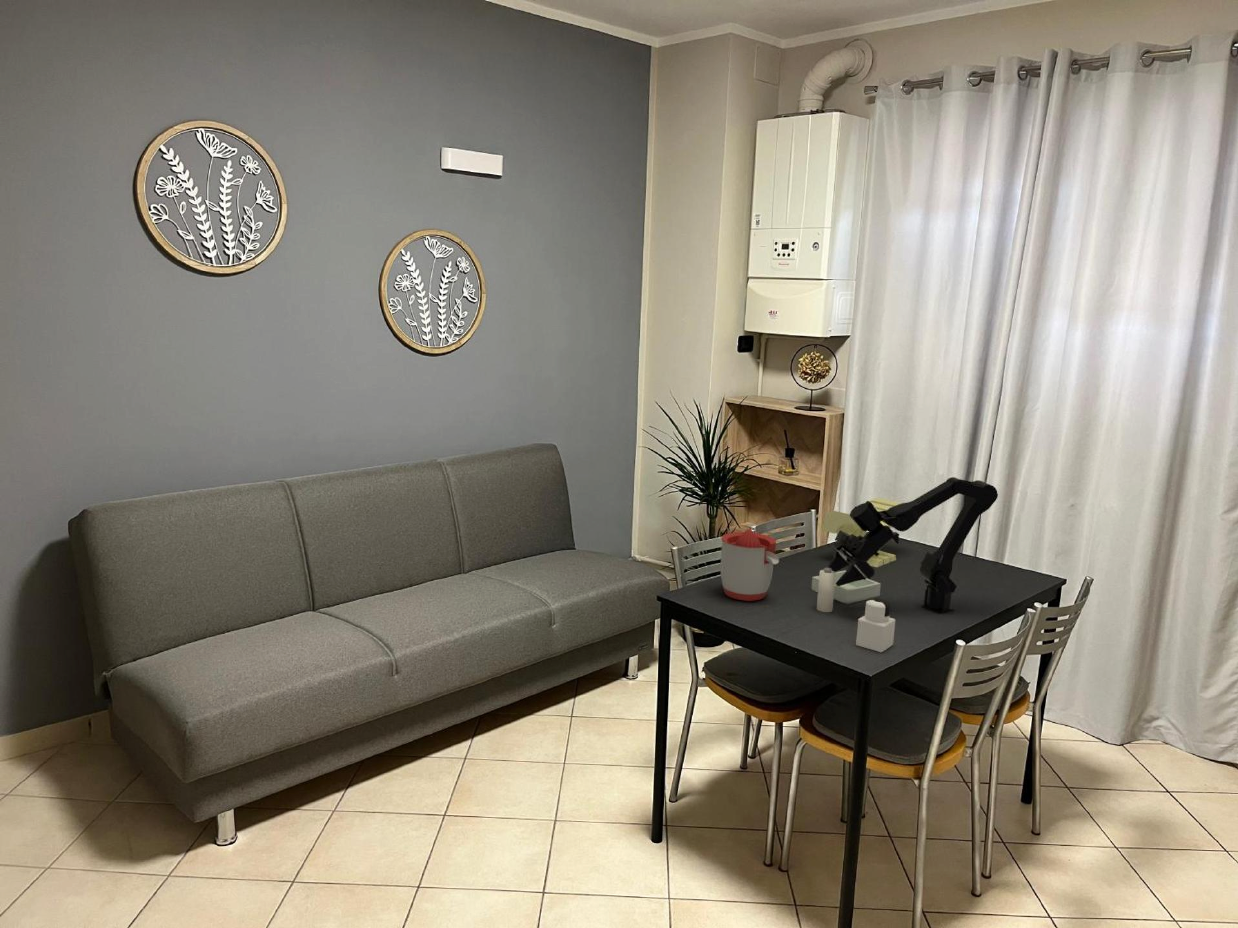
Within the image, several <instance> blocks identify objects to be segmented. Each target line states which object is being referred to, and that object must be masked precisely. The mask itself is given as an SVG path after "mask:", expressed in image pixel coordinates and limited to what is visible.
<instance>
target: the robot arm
mask: <svg viewBox="0 0 1238 928" xmlns="http://www.w3.org/2000/svg"><path fill="white" fill-rule="evenodd" d="M957 495H963V504H962V505H963V506H962V509H961V510H960V512H959V513H958V516H956V518H955V520H954V522H953V524H952V525H951V527H950V528H949V530H948V532H947V533H946V536H945V537H944V539H943V541H942V542H941V544H940V545H939V546H938V547H939V548H938V549H937V550H936V551H935V552H933V553H932V554H931V553H930V552H926V554H925V556H924V558H923V560H922V561H921V562H920V563H919V565H920V567H919V573H920V576H921V577H922V578H923V580H924V583H925V584H926V589H924V601H923V603H922V604H921V606H920V607H922V608H925V609H927V610H929V611H932V612H934V613H938V614H941V613H942V614H943V613H946V612H950V611H953V610H954V607H952V606H951V604H952V602H951V601H952V593H955V591H956V590H957V584H956V583H955V582H954V581H953V580H952V579H951V578H950V577H951V575H952V571H953V568H954V566H953V565H954V559H955V557H956V555H957V553H958V552H959V550H960V549H961V547H962V546H963V544H964V542H965V541H966V539H967V537H968V535H969V533H970V532H971V530H972V528H973V526H974V525H975V524H976V521H977V520H978V518H980V516H981V515H982V514H984V513H985V512H987V511H988V510H990V509H991V507H992V506H993V505H994V503H995V502H996V501H997V499H998V497H999V494H998V490H997V488H996V487H995V486H994V485H992V484H990V483H987V482H985V481H983V480H974V481H970V480H966V479H960V478H957V477H954V476H953V477H949V478H947V479H946V480H945V481H943V482H942V483H940V484H938V485H937V486H935V487H934V488H932V489H930V490H928V491H927V492H924V493H923V494H921V495H920V496H918V497H917V498H915V499H913V500H911V501H907V502H903V503H901V504H899V505H896V506H893V507H891V508H889V509H888V510H885V511H877V510H876V509H875V507H874V505H873V504H872V503H871V502H870V501H871V500H867V501H865V502H863V503H860V504H858V505H856V506H854V508H852V510H851V511H850V512H849V514H850V517H851V518H852V519H853V520H854V522H855V523H856V524H857V525H858V526H859V527H860V528H861V529H862V531H867V532H866V535H865V536H863V537H862V536H861V535H860V536H858V537H857V536H854V535H853V534H851V535H849V534H847V533H845V532H843V531H841V530H840V531H839V533H838V535H837V534H836V537H835V538H834V541H835V543H834V544H833V545H832V547H833V548H832V551H833V557H832V559H831V561H830V563H829V564H828V566H827V568H831V569H832V571H834V572H839V571H840V570H842V569H845V568H847V567H848V568H847V570H845V571H846V572H845V573H844V574H843V575H842V576H841V577H840V578H839V580H838V581H837V582H836V585H837V586H841V585H845V584H848V583H851V582H855V581H859V580H863V579H864V580H866V578H867V579H870V580H872V578H873V577H874V576H875V572H876V571H875V569H874V567H873V566H870V565H869V564H868V563H867V561H868V560H869V559H870V558H871V557H873V556H874V555H875V556H878V555H879V553H878V551H879V550H880V551H881V550H882V548H884V547H885V546H886V545H887V544H888V543H890V541H892V542H894V543H896V544H899V543H900V541H899V540H900V539H899V538H900V534H899V533H898V532H906V531H908V530H909V529H910V528H912V527H913V526H915V524H917V522H918V521H919V520H920V518H921V517H922V516H923V515H925V514H926V513H928V512H929V511H931V510H933V509H934V508H937V507H938V506H940V505H942V504H943V503H945V502H946V501H948V500H950V499H951V498H953V497H955V496H957ZM881 521H882V522H884V523H886V524H887V525H889V526H891V527H892V528H893V529H894V530H896V531H893V530H892V528H889V526H886V525H885V526H883V525H882V524H881ZM897 531H898V532H897ZM837 541H838V542H837Z"/></svg>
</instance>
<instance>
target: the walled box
mask: <svg viewBox="0 0 1238 928" xmlns="http://www.w3.org/2000/svg"><path fill="white" fill-rule="evenodd" d="M846 571H847V570H841V571H840V570H839V571H836V576H835V587H834V598H833V600H836V601H838V602H840V603H843V604H845V605H849V604H853V603H858V602H861V601H867V600H868V599H872V598H879V597H880V595H881V586H882V583H880V582H878V581H875V580H872V579H868V578H867V577H865V578H866V580H864V579H863V580H859V581H855V582H851V583H848V584H845V585H841V586H837V585H836V582H837V581H838V580H839V578H840V577H841V576H842V575H843V574H844V573H845V572H846ZM818 586H819V575H815V576H812V579H811V591H813V592H816V593H818Z"/></svg>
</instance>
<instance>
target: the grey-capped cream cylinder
mask: <svg viewBox="0 0 1238 928" xmlns="http://www.w3.org/2000/svg"><path fill="white" fill-rule="evenodd" d="M836 572H837V571H836ZM836 572H834V571H832V569H831V568H828V567H824V568H823V569H820V570H819V575H818V576H819V586H818V592H817V599H816V601H817V602H816V610H817V611H819V612H823V613H831V612H833V609H834V608H833V606H834V599H833V598H834V587H835V576H836Z"/></svg>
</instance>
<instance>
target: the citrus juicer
mask: <svg viewBox="0 0 1238 928" xmlns="http://www.w3.org/2000/svg"><path fill="white" fill-rule="evenodd" d="M721 541H722V542H721V555H720V577H721V584H722V589H723V591H724V594H725V596H727V597H729V598H731V599H735V600H738V601H745V602H753V601H758V600H761V599H764V598H765V597H766V595H767V592H768V591H769V587H770V585H771V582H772V578H773V572H774V570H773V569H774V565H777V564H779V562H780V559H779V556H778V555H776V547H777V546H776V545H777V541H776V540H775V539H774V538H773V537H771V536H769V535H766V534H763V533H762V534H761V533H756V532H754V531H753V530H752V529H750V528H747V529H746V530H745V531H740V532H739V531H737V532H736V531H735V532H729V533H725V534H723V535H721Z"/></svg>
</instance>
